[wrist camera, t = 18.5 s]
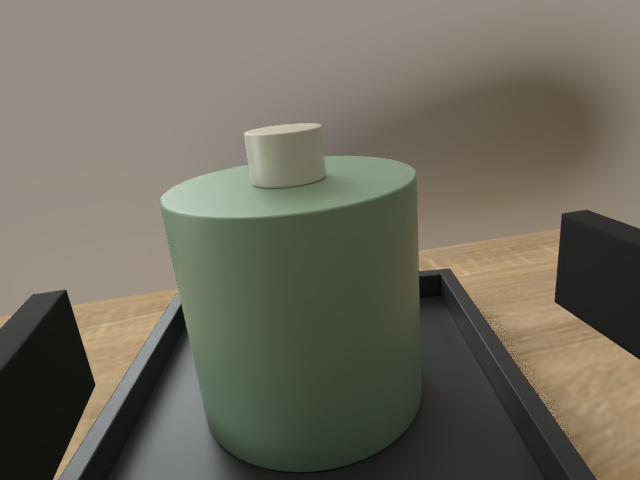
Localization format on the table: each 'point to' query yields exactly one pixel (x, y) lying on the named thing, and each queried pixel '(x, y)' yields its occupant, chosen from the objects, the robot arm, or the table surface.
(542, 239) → the table surface
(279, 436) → the cover
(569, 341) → the table surface
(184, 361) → the tray
